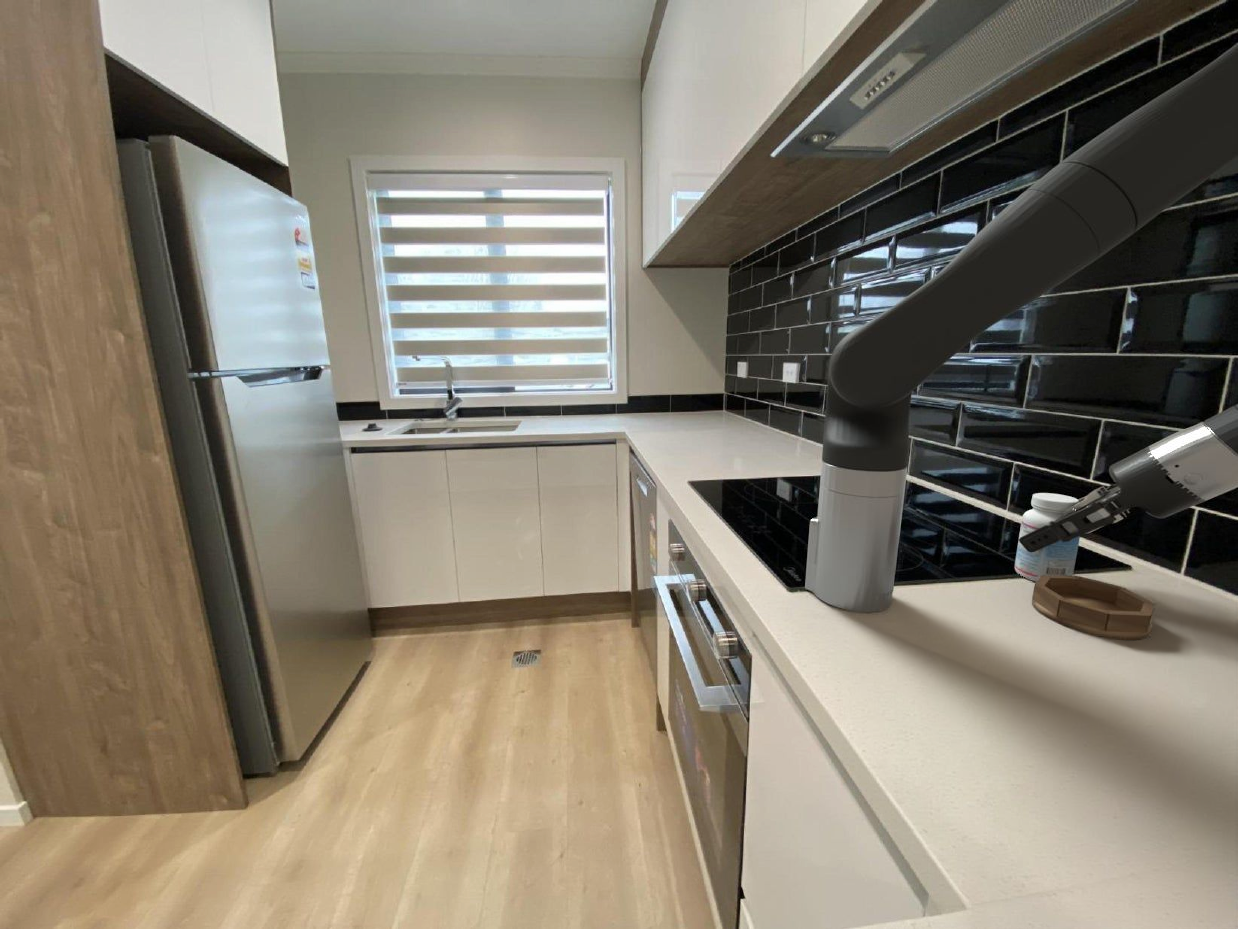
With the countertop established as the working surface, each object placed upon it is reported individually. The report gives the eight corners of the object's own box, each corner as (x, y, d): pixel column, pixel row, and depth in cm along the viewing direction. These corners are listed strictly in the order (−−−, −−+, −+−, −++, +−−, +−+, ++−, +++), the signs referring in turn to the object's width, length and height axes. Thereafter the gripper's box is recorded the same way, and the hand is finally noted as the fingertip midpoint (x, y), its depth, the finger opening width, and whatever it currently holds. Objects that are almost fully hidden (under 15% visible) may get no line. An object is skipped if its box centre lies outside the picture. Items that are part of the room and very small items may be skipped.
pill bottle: (1071, 575, 67) (1087, 496, 65) (1070, 591, 63) (1087, 507, 60) (1015, 563, 71) (1028, 488, 69) (1010, 577, 67) (1024, 498, 65)
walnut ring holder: (1021, 612, 58) (1025, 591, 57) (1043, 587, 64) (1047, 567, 63) (1144, 651, 50) (1150, 626, 50) (1155, 618, 56) (1160, 596, 56)
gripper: (1158, 437, 62) (1024, 506, 73) (1144, 452, 53) (994, 528, 64) (1213, 486, 59) (1064, 550, 70) (1208, 511, 50) (1038, 579, 62)
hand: (1031, 539), depth 67 cm, fingers closed on pill bottle, 6 cm apart
